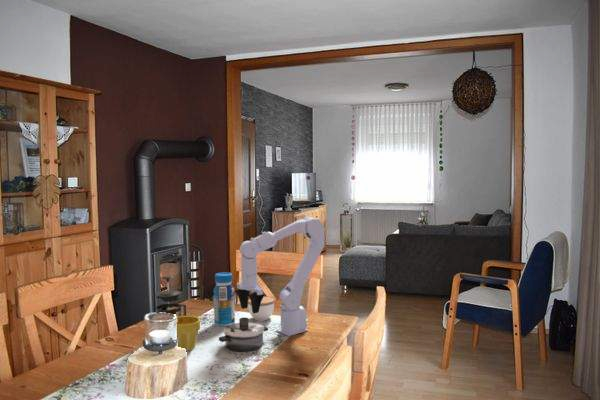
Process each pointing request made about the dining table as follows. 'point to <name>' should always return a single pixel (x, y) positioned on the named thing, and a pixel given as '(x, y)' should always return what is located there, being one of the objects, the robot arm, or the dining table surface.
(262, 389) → the dining table surface
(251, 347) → the cooking pot
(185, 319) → the plant pot
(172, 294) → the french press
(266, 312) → the lidded jar
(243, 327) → the lid
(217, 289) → the beverage bottle
